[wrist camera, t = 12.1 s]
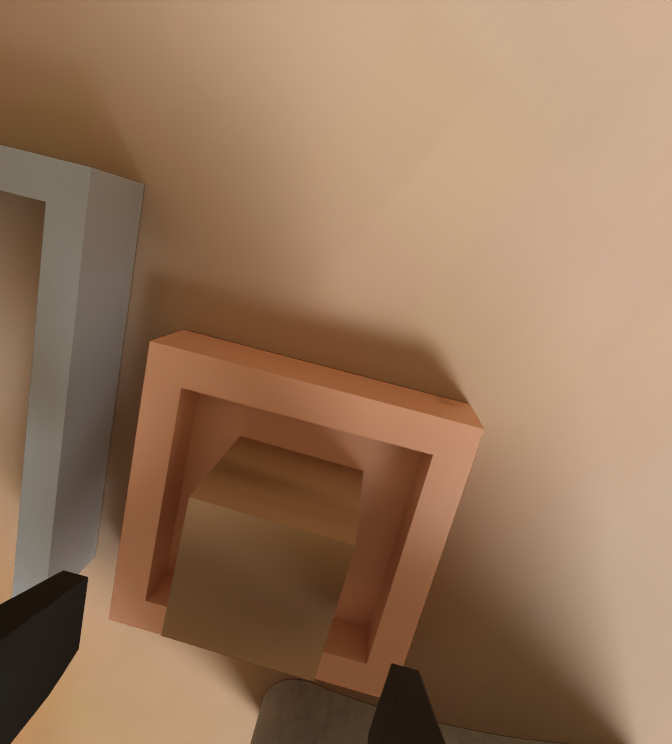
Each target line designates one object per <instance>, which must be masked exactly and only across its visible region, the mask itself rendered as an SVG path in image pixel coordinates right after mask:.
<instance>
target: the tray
mask: <svg viewBox="0 0 672 744" xmlns="http://www.w3.org/2000/svg"><path fill="white" fill-rule="evenodd" d="M483 432H484V428H483V426H482V424H481V423H480V421H479V419H478V418H477V416H476V414H475V412H474V411H473V409H472V407H471V406H470V404H466V403H462V402H458V401H455V400H451V399H447V398H443V397H439V396H436V395H432V394H428V393H424V392H420V391H416V390H413V389H409V388H405V387H401V386H397V385H393V384H390V383H386V382H382V381H378V380H374V379H370V378H367V377H363V376H359V375H355V374H351V373H348V372H344V371H340V370H336V369H332V368H328V367H325V366H321V365H317V364H313V363H309V362H305V361H302V360H298V359H294V358H290V357H286V356H282V355H279V354H275V353H271V352H267V351H263V350H260V349H256V348H252V347H248V346H244V345H240V344H237V343H233V342H229V341H225V340H221V339H217V338H214V337H210V336H206V335H202V334H198V333H194V332H191V331H187V330H181V331H178V332H175V333H172V334H169V335H166V336H163V337H160V338H157V339H155V340H152V341H150V343H149V350H148V357H147V364H146V370H145V377H144V384H143V391H142V397H141V404H140V411H139V418H138V425H137V431H136V438H135V445H134V452H133V459H132V465H131V472H130V479H129V486H128V492H127V499H126V506H125V513H124V520H123V526H122V533H121V540H120V547H119V553H118V560H117V567H116V574H115V581H114V587H113V594H112V601H111V608H110V614H109V620H112V621H116V622H119V623H123V624H126V625H130V626H133V627H137V628H140V629H144V630H147V631H151V632H154V633H157V634H161V635H162V630H163V625H164V620H165V615H166V610H167V605H168V600H169V595H170V590H171V585H172V580H173V575H174V570H175V565H176V560H177V555H178V550H179V545H180V540H181V535H182V530H183V525H184V520H185V515H186V510H187V505H188V500H189V497H190V496H191V494H192V493H193V492H194V491H195V489H196V488H197V487H198V486H199V485H200V483H201V482H202V481H203V480H204V479H205V477H206V476H207V475H208V474H209V473H210V471H211V470H212V469H213V468H214V466H215V465H216V464H217V463H218V462H219V460H220V459H221V458H222V457H223V456H224V454H225V453H226V452H227V451H228V450H229V448H230V447H231V446H232V445H233V444H234V442H235V441H236V440H237V439H238V437H239V436H242V437H246V438H250V439H253V440H257V441H260V442H264V443H267V444H271V445H274V446H278V447H281V448H285V449H288V450H292V451H295V452H299V453H302V454H306V455H309V456H313V457H316V458H320V459H323V460H327V461H330V462H334V463H337V464H341V465H344V466H348V467H351V468H355V469H358V470H362V471H363V480H362V489H361V499H360V509H359V519H358V528H357V538H356V546H355V550H354V553H353V556H352V559H351V563H350V566H349V569H348V572H347V576H346V579H345V582H344V585H343V589H342V592H341V595H340V598H339V602H338V605H337V608H336V611H335V615H334V618H333V621H332V624H331V628H330V631H329V634H328V637H327V641H326V644H325V647H324V650H323V654H322V657H321V660H320V663H319V667H318V670H317V673H316V676H315V679H317V680H320V681H324V682H327V683H331V684H334V685H338V686H341V687H345V688H348V689H351V690H355V691H358V692H362V693H365V694H369V695H372V696H376V697H379V698H380V696H381V693H382V690H383V687H384V684H385V681H386V678H387V675H388V672H389V669H390V666H391V663H393V664H397V665H400V666H404V663H405V660H406V657H407V654H408V651H409V648H410V645H411V642H412V639H413V636H414V634H415V631H416V628H417V625H418V622H419V619H420V616H421V613H422V610H423V607H424V604H425V601H426V598H427V595H428V593H429V590H430V587H431V584H432V581H433V578H434V575H435V572H436V569H437V566H438V563H439V560H440V557H441V555H442V552H443V549H444V546H445V543H446V540H447V537H448V534H449V531H450V528H451V525H452V522H453V519H454V516H455V514H456V511H457V508H458V505H459V502H460V499H461V496H462V493H463V490H464V487H465V484H466V481H467V478H468V476H469V473H470V470H471V467H472V464H473V461H474V458H475V455H476V452H477V449H478V446H479V443H480V440H481V438H482V435H483Z"/></svg>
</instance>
